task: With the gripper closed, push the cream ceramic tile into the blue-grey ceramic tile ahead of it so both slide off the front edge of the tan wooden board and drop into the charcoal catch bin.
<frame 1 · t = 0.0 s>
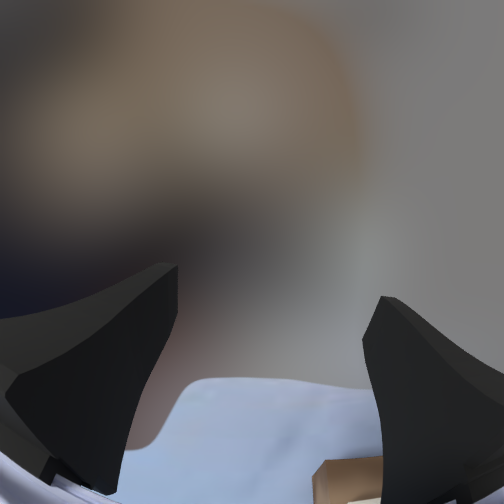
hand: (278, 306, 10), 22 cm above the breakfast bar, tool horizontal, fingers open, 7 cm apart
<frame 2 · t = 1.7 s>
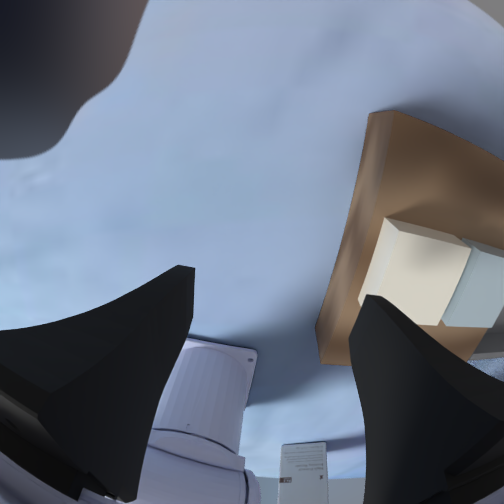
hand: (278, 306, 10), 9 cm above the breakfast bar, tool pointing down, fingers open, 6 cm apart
blue grey tile: (472, 278, 14), point 4 cm above the breakfast bar, touching tan wooden board
skincare box: (302, 448, 31), on the breakfast bar
tan wooden board: (427, 249, 18), on the breakfast bar
cream tile: (408, 267, 14), point 4 cm above the breakfast bar, touching tan wooden board
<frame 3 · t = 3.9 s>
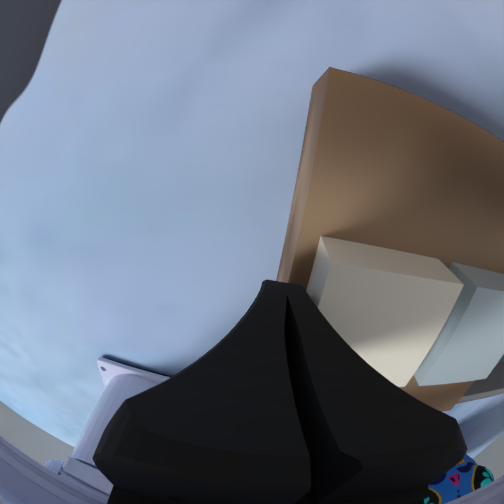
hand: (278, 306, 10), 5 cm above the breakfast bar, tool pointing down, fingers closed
blue grey tile: (465, 316, 10), point 4 cm above the breakfast bar, touching tan wooden board
ceramic pot: (410, 459, 25), on the breakfast bar
tan wooden board: (405, 271, 14), on the breakfast bar
cream tile: (365, 306, 10), point 4 cm above the breakfast bar, touching gripper, tan wooden board
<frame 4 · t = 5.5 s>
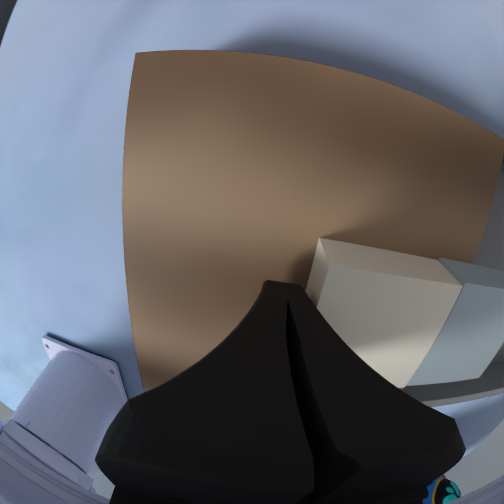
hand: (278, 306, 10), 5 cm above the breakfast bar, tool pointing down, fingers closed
blue grey tile: (455, 313, 10), point 4 cm above the breakfast bar, touching cream tile, tan wooden board
ceramic pot: (373, 465, 25), on the breakfast bar
tan wooden board: (297, 253, 14), on the breakfast bar
cream tile: (364, 307, 10), point 4 cm above the breakfast bar, touching blue grey tile, gripper, tan wooden board
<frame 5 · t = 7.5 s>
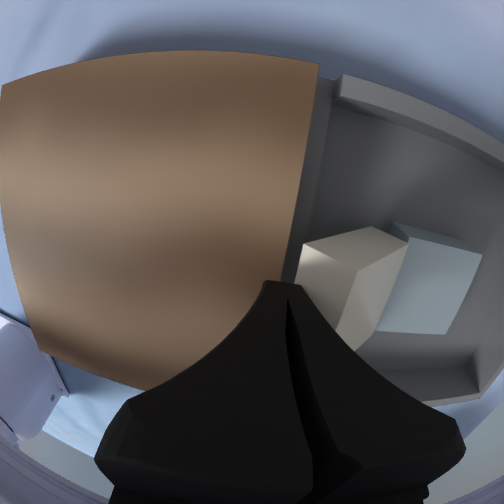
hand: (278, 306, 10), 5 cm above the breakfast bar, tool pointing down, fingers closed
blue grey tile: (432, 293, 12), point 2 cm above the breakfast bar, tilted 180°, touching catch bin, cream tile
catch bin: (429, 275, 14), on the breakfast bar
tan wooden board: (142, 228, 14), on the breakfast bar
cream tile: (327, 289, 11), point 3 cm above the breakfast bar, tilted 45°, touching blue grey tile, gripper
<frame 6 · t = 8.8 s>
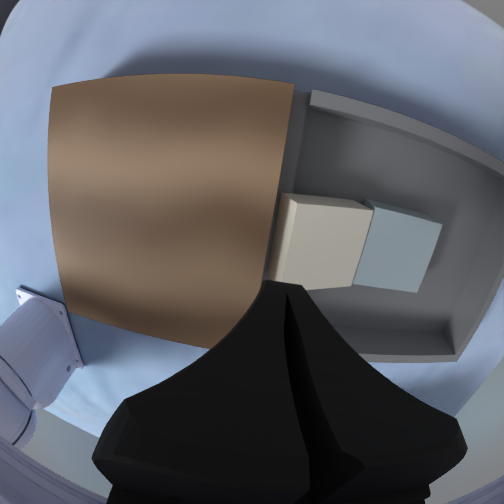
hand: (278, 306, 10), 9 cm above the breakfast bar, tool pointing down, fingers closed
blue grey tile: (400, 254, 16), point 2 cm above the breakfast bar, tilted 180°, touching catch bin
catch bin: (396, 243, 18), on the breakfast bar
tan wooden board: (164, 204, 18), on the breakfast bar
cream tile: (311, 236, 17), point 1 cm above the breakfast bar, tilted 22°, touching catch bin
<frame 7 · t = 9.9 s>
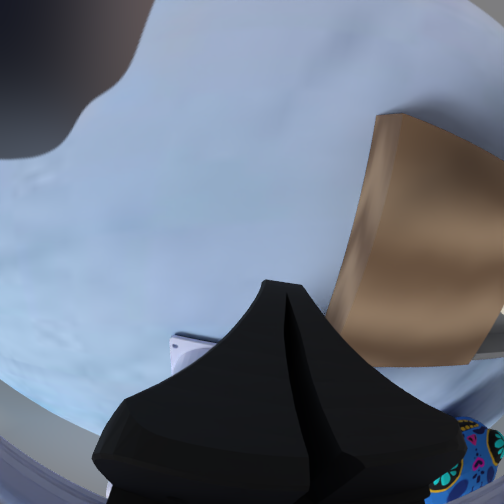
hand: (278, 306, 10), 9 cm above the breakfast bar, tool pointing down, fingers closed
ceramic pot: (428, 430, 29), on the breakfast bar
tan wooden board: (432, 250, 18), on the breakfast bar
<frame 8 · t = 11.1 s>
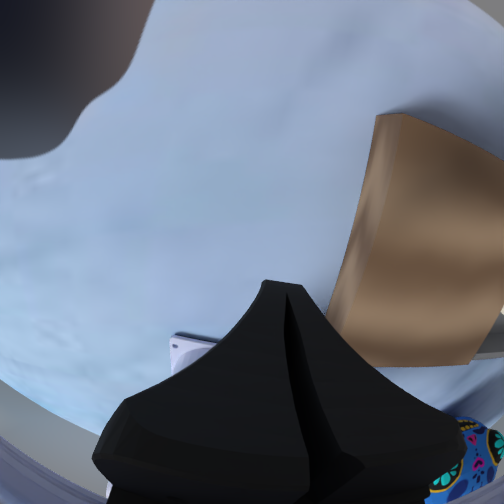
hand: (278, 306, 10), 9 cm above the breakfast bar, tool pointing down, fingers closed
ceramic pot: (428, 430, 29), on the breakfast bar
tan wooden board: (432, 250, 18), on the breakfast bar
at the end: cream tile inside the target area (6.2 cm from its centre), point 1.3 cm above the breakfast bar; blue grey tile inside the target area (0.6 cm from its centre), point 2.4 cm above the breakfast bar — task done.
